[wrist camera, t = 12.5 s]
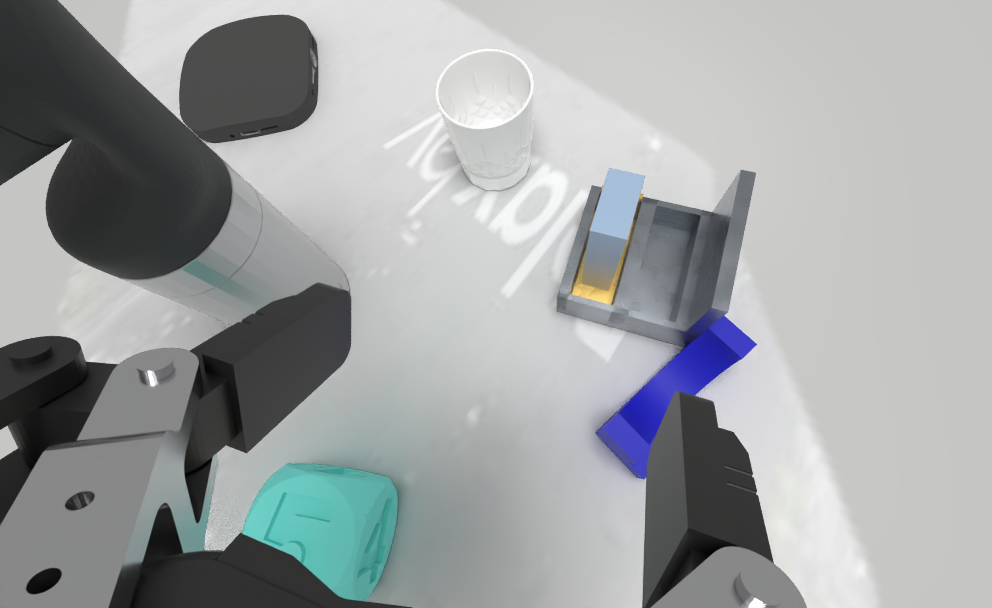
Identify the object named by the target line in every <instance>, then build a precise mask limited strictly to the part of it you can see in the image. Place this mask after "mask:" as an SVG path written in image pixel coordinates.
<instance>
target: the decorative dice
mask: <svg viewBox="0 0 992 608" xmlns="http://www.w3.org/2000/svg"><path fill="white" fill-rule="evenodd" d="M397 512H398V496H397V490H396V488H395V486H394V484H393V483H392V481H391V479H390V478H388V477H386V476H383V475H379V474H375V473H371V472H366V471H361V470H355V469H349V468H343V467H336V466H328V465H319V464H308V463H288V464H286V465H285V466H284V467H282V468H281V469H279V470H278V471H277V472H275V473H274V474H273V475H272V476H271V477H270V478H269V479H268V481H267V482H266V483H265V484H264V486H263V487H262V488H261V490H260V491H259V493H258V495H257V497H256V498H255V500H254V502H253V504H252V506H251V508H250V511H249V513H248V516H247V518H246V521H245V524H244V528H243V531H242V534H245V535H247V536H249V537H251V538H254V539H256V540H258V541H261V542H263V543H265V544H267V545H270V546H272V547H274V548H277V549H279V550H281V551H284V552H286V553H288V554H290V555H293V556H294V557H295V558H296V559H297V560H299V561H300V562H301V563H302V564H303V565H304V566H305V567H306V568H308V569H309V570H310V571H311V572H312V573H313V574H314V575H315V576H316V577H318V578H319V579H320V580H321V581H322V582H323V583H324V584H325V585H326V586H328V587H329V588H330V589H331V590H332V591H333V592H334V593H335V594H337V595H338V596H340V597H342V598H345V599H350V600H358V601H365V600H366V599H367V598H368V597H369V596H370V595H371V593H372V592H373V590H374V588H375V587H376V585H377V583H378V581H379V579H380V577H381V574H382V572H383V569H384V567H385V564H386V561H387V558H388V555H389V552H390V549H391V545H392V541H393V537H394V532H395V527H396V521H397Z"/></svg>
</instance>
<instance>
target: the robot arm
mask: <svg viewBox="0 0 992 608" xmlns="http://www.w3.org/2000/svg"><path fill="white" fill-rule="evenodd" d="M70 140H72V141H71V143H70V145H69V147H68V148H67V150H66V152H65V153H64V155H63V156H62V158H61V160H60V162H59V164H58V165H57V167H56V169H55V171H54V173H53V176H52V178H51V181H50V184H49V188H48V192H47V198H46V216H47V221H48V226H49V228H50V230H51V232H52V235H53V236H54V238H55V240H56V241H57V242H58V244H59V245H60V246H61V247H62V248H63V249H64V250H65V251H66V252H67V253H69V254H70V255H71V256H73V257H74V258H76V259H77V260H79V261H81V262H83V263H85V264H87V265H89V266H91V267H94V268H96V269H98V270H101V271H103V272H106V273H108V274H110V275H113V276H116V277H118V278H120V279H123V280H125V281H128V282H130V283H132V284H135V285H137V286H140V287H142V288H144V289H147V290H149V291H151V292H154V293H156V294H159V295H162V296H164V297H166V298H169V299H171V300H174V301H176V302H178V303H181V304H183V305H185V306H188V307H190V308H193V309H195V310H197V311H200V312H202V313H204V314H207V315H209V316H212V317H214V318H216V319H219V320H221V321H224V322H226V323H228V324H231V325H232V326H230V327H229V328H227V329H225V330H224V331H222V332H220V333H219V334H217V335H215V336H214V337H212V338H210V339H209V340H207V341H205V342H204V343H202V344H200V345H199V346H197V347H195V348H194V349H192V350H190V351H187V350H184V349H179V348H161V349H154V350H149V351H145V352H142V353H139V354H136V355H134V356H132V357H129V358H128V359H126V360H124V361H123V362H121V363H120V364H106V363H95V362H86V361H85V358H84V355H83V352H82V349H81V346H80V344H79V343H78V342H77V341H76V340H74V339H71V338H67V337H61V336H45V337H36V338H31V339H26V340H22V341H18V342H15V343H12V344H9V345H7V346H5V347H2V348H0V430H1V429H2V428H4V427H6V426H8V427H9V430H10V431H11V434H12V436H13V438H14V440H15V442H16V444H17V446H18V449H17V450H15V451H13V452H12V453H10V454H9V455H7V456H5V457H4V458H2V459H1V460H0V608H412V607H404V606H396V605H388V604H381V603H373V602H365V601H358V600H350V599H345V598H342V597H340V596H338V595H337V594H335V593H334V592H333V591H332V590H331V589H330V588H329V587H328V586H326V585H325V584H324V583H323V582H322V581H321V580H320V579H319V578H318V577H316V576H315V575H314V574H313V573H312V572H311V571H310V570H309V569H308V568H306V567H305V566H304V565H303V564H302V563H301V562H300V561H299V560H297V559H296V558H295V557H294V556H293V555H290V554H288V553H286V552H284V551H281V550H279V549H277V548H274V547H272V546H270V545H267V544H265V543H263V542H261V541H258V540H256V539H254V538H251V537H249V536H247V535H245V534H242V533H240V534H239V535H238V536H237V537H236V538H235V539H234V540H233V541H232V543H231V544H230V545H229V546H228V547H227V548H226V549H225V550H224V551H220V550H213V551H204V541H205V532H206V527H207V521H208V516H209V510H210V505H211V499H212V494H213V488H214V483H215V477H216V471H217V466H218V458H217V452H219V451H220V450H221V449H222V448H223V447H224V446H225V445H227V446H230V447H232V448H235V449H237V450H240V451H242V452H245V453H248V452H249V451H250V450H251V449H252V448H253V447H254V446H255V445H256V444H257V443H258V442H259V441H261V440H262V439H263V438H264V437H265V436H266V435H267V434H268V433H269V432H270V431H271V430H272V429H273V428H275V427H276V426H277V425H278V424H279V423H280V422H281V421H282V420H283V419H284V418H285V417H286V416H287V415H289V414H290V413H291V412H292V411H293V410H294V409H295V408H296V407H297V406H298V405H299V404H300V403H301V402H303V401H304V400H305V399H306V398H307V397H308V396H309V395H310V394H311V393H312V392H313V391H314V390H316V389H317V388H318V387H319V386H320V385H321V384H322V383H323V382H324V381H325V380H326V379H327V378H328V377H330V376H331V375H332V374H333V373H334V372H335V371H336V370H337V369H338V368H339V367H340V366H341V365H342V364H343V363H344V361H345V360H346V358H347V356H348V354H349V351H350V347H351V296H350V293H349V284H348V281H347V278H346V275H345V274H344V272H343V271H342V269H341V268H340V267H339V266H338V265H337V264H336V263H335V262H334V261H333V260H332V259H330V258H329V257H328V256H327V255H326V254H325V253H324V252H323V251H322V250H321V249H320V248H319V247H318V246H317V245H316V244H315V243H313V242H312V241H311V240H310V239H309V238H308V237H307V236H306V235H305V234H304V233H303V232H301V231H300V230H299V229H298V228H297V227H296V226H295V225H294V224H293V223H292V222H291V221H289V220H288V219H287V218H286V217H285V216H284V215H283V214H282V213H281V212H280V211H279V210H277V209H276V208H275V207H274V206H273V205H272V204H271V203H270V202H269V201H268V200H267V199H265V198H264V197H263V196H262V195H261V194H260V193H259V192H258V191H257V190H256V189H255V188H253V187H252V186H251V185H250V184H249V183H248V182H247V181H245V180H244V179H243V178H242V177H241V176H240V175H239V174H238V173H237V172H236V171H235V170H233V169H232V168H231V167H230V166H229V165H228V164H227V163H226V162H225V161H224V160H223V159H221V158H220V157H219V156H218V155H217V154H216V153H215V152H214V151H213V150H211V149H210V148H209V147H208V146H207V145H206V144H205V143H204V142H203V141H201V140H200V139H199V138H198V137H197V136H196V135H195V134H194V133H193V132H192V131H191V130H190V129H189V128H187V127H186V126H185V125H184V124H183V123H182V122H181V121H180V120H179V119H178V118H177V117H176V116H175V115H174V114H173V113H172V112H170V111H169V110H168V109H167V108H166V107H165V106H164V105H163V104H162V103H161V102H160V101H159V100H158V99H157V98H156V97H154V96H153V95H152V94H151V93H150V92H149V91H148V90H147V89H146V88H145V87H144V86H143V85H142V84H141V83H139V82H138V81H137V80H136V79H135V78H134V77H133V76H132V75H131V74H130V73H129V72H128V71H127V70H126V69H125V68H124V67H123V66H122V65H121V64H120V63H119V62H118V61H117V60H116V59H115V58H114V57H113V56H112V55H111V54H110V53H109V52H108V51H107V50H106V49H104V47H103V46H102V45H101V44H100V43H99V42H98V41H97V40H95V38H93V36H92V35H91V34H90V33H89V32H88V31H87V30H86V29H85V28H84V27H83V26H82V25H81V24H80V23H79V22H78V21H77V20H76V19H75V18H74V17H73V16H72V15H71V14H70V13H69V12H68V11H67V9H66V8H65V7H64V6H63V5H62V4H61V3H59V2H58V0H0V185H2V184H3V183H5V182H6V181H8V180H9V179H11V178H13V177H14V176H15V175H17V174H19V173H20V172H22V171H23V170H25V169H26V168H28V167H30V166H31V165H33V164H34V163H36V162H37V161H39V160H40V159H42V158H43V157H45V156H47V155H48V154H50V153H51V152H53V151H54V150H56V149H57V148H59V147H60V146H62V145H63V144H65V143H67V142H68V141H70ZM752 475H753V472H752V468H751V463H750V459H749V455H748V452H747V451H746V449H745V448H744V446H743V445H742V444H741V442H740V441H739V439H738V438H737V436H736V435H735V434H734V432H731V431H728V430H725V429H722V428H718V424H717V418H716V412H715V406H714V403H713V401H710V400H707V399H704V398H700V397H697V396H694V395H690V394H687V393H684V392H680V391H676V392H675V393H674V395H673V397H672V399H671V401H670V403H669V406H668V408H667V410H666V413H665V415H664V417H663V420H662V422H661V424H660V427H659V429H658V431H657V434H656V436H655V438H654V441H653V443H652V446H651V449H650V453H649V457H648V463H647V476H646V508H645V540H644V571H643V603H642V608H807V607H806V604H805V602H804V599H803V597H802V596H801V594H800V592H799V590H798V589H797V587H796V586H795V585H794V583H793V582H792V581H791V580H790V579H789V577H788V576H787V575H786V574H785V573H784V572H783V571H782V570H781V569H780V568H779V567H777V566H776V565H775V564H774V562H773V558H772V554H771V549H770V545H769V541H768V537H767V532H766V528H765V524H764V519H763V515H762V511H761V506H760V502H759V498H758V495H756V492H757V489H756V485H755V481H754V478H753V477H752Z"/></svg>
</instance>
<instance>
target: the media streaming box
mask: <svg viewBox="0 0 992 608" xmlns="http://www.w3.org/2000/svg"><path fill="white" fill-rule="evenodd" d="M315 77H316V80H315ZM317 94H318V56H317V44H316V41H315V39H314V37H313V36H312V34H311V32H310V30H309V28H308V27H307V25H306V24H305V23H304V22H303V21H302V20H300V19H299V18H296V17H293V16H289V15H269V16H260V17H253V18H247V19H243V20H238V21H235V22H231V23H228V24H225V25H222V26H219V27H217V28H214V29H212V30H210V31H209V32H207V33H206V34H204V35H203V36H202V37H200V38H199V39H198V40H197V41H196V42H195V43H194V44H193V45H192V46H191V48H190V49H189V50H188V52H187V54H186V57H185V60H184V63H183V67H182V72H181V79H180V91H179V103H180V115H181V118H182V120H183V122H184V123H185V124H186V125H187V126H188V127H189V128H190V129H191V130H192V131H193V132H194V133H195V134H197V135H198V136H199V137H200V138H201V139H203V140H205V141H207V142H212V143H219V142H226V141H233V140H239V139H245V138H251V137H256V136H262V135H267V134H271V133H276V132H280V131H285V130H289V129H292V128H295V127H297V126H299V125H300V124H302V123H303V122H304V121H306V120H307V119H308V118H309V117H310V115H311V114H312V113H313V111H314V109H315V107H316V104H317Z"/></svg>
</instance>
